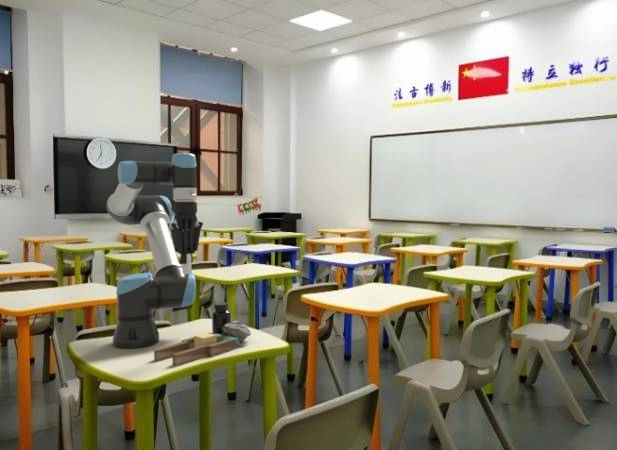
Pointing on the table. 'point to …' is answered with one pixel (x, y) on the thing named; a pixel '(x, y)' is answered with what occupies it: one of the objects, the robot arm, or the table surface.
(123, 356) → the table surface
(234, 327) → the mineral specimen
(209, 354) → the chute
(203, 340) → the block
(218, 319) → the supplement bottle
